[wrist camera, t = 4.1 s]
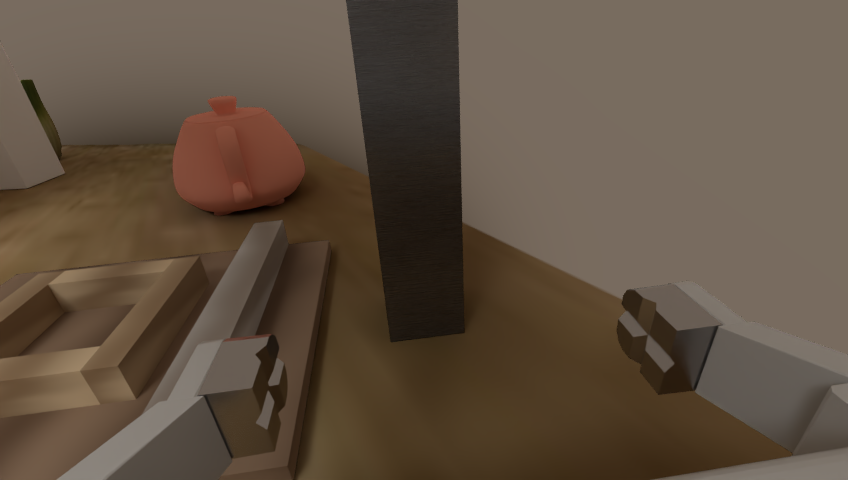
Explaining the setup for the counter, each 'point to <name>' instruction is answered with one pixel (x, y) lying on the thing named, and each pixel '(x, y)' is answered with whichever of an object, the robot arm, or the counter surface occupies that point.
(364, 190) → the counter surface
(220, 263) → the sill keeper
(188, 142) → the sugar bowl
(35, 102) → the fennel bulb
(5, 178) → the milk
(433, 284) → the bar
